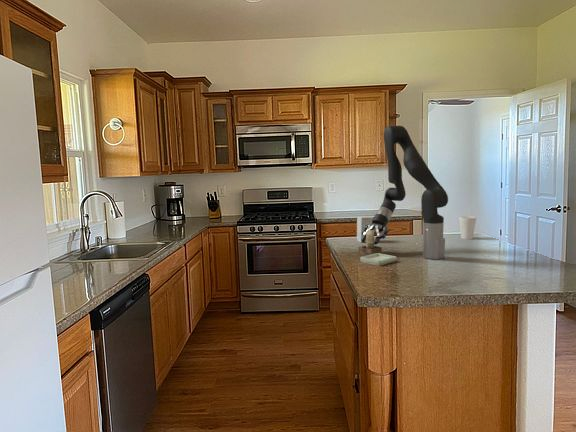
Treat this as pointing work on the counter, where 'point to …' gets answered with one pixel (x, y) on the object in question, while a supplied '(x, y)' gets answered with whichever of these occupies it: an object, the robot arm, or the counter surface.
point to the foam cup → (467, 226)
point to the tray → (378, 259)
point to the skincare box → (362, 225)
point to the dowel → (370, 239)
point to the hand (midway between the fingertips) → (368, 242)
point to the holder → (370, 250)
